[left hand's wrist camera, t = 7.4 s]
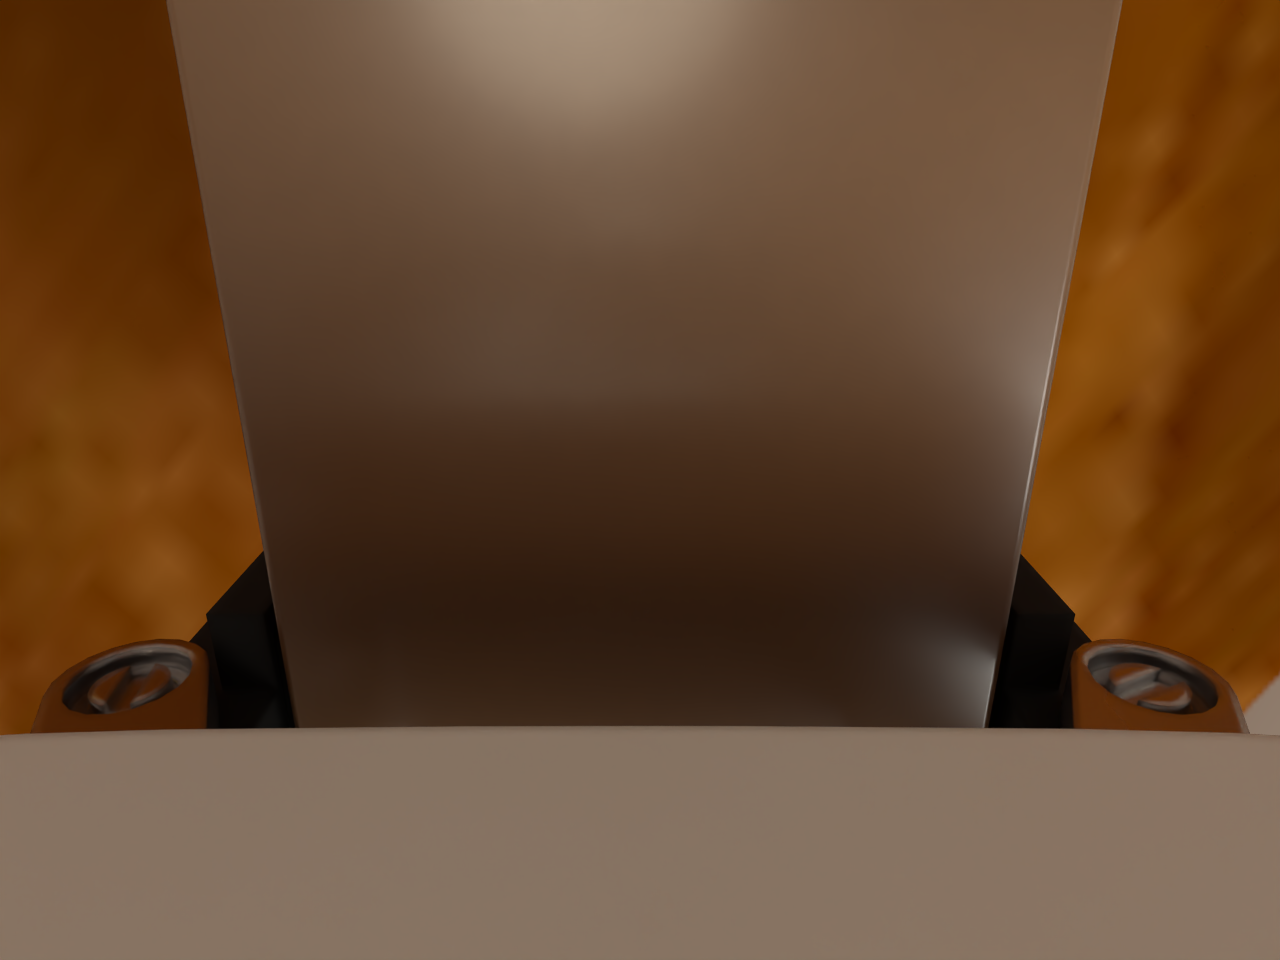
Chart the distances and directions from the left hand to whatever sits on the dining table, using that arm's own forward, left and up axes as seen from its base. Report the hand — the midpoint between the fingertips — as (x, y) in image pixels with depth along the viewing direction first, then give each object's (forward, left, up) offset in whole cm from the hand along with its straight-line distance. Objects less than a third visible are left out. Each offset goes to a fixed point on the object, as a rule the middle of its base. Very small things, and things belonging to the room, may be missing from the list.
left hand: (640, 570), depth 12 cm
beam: (+2, +21, -2) cm, 21 cm away
